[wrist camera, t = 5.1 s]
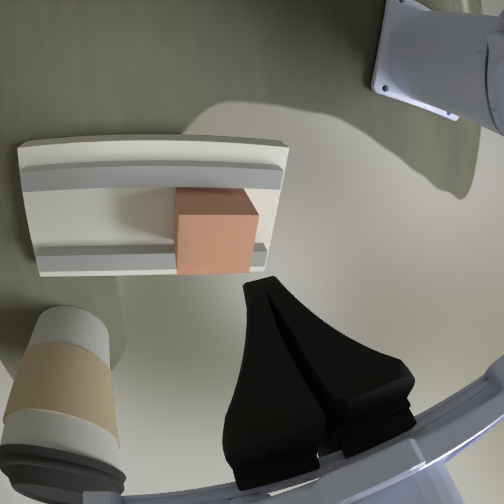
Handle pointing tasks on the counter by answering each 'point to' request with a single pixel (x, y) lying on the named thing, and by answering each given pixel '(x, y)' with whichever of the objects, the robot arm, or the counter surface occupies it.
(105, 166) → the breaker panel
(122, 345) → the counter surface
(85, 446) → the coffee cup
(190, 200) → the switch
